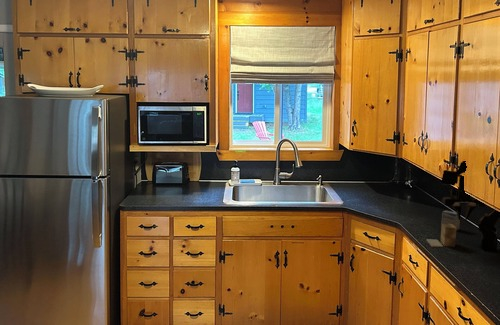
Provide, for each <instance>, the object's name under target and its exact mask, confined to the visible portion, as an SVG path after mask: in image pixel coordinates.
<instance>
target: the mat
mask: <svg viewBox="0 0 500 325" xmlns="http://www.w3.org/2000/svg"><path fill="white" fill-rule="evenodd" d="M426 243H428V244H429V245H430V246H431V248H444V246H443V245H442V243H441V242H440V241H439V240H438V239H430V238H429V239H428V238H426Z"/></svg>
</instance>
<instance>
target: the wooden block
mask: <svg viewBox="0 0 500 325" xmlns="http://www.w3.org/2000/svg"><path fill="white" fill-rule="evenodd" d="M456 238H457V230H456V227H455V226H454V225H453V224H442V227H441V226H440V241H439V242H440V243H441V244H443V245H444V246H443V247H456Z"/></svg>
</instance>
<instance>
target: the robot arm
mask: <svg viewBox="0 0 500 325" xmlns="http://www.w3.org/2000/svg"><path fill="white" fill-rule="evenodd" d="M465 162H466V161H463V160H462V161H461V162H460V164H459V168H457V169H456V170H447V169H444V170H443V172H442V177H441V185H445V186H452V187H453V186H454V187H455V186H456V185H457V184H458V187H457V189H456V188H455V189H454V188H451V189H450V192H449V195H450V196H443V197H442V198H441V204H443V205H444V206H452V207H454V209H455V211H456V213H457V216H458V219H459V220H460V221H461V218H462V217H461V215H462V214H461V213H462V212H461V211H462V206H461V204H465V206H466V209H465V218H464V219H465V221H468V218H469V217H470V215H471V214H472V212H473V211H474V209H477V208H478V207H477V205H478V206H479V207H487V205H485V204H484V203H482V202H480V201H478V200H477V199H475V198H476V197H474V198H473V199H472V195H471V196H470V195H468V194H466V193H465V191H464V176H462V175H463V174H465V171H466V168H467V166H466V163H465ZM499 219H500V212H498V211H496V210H495V209H494V210H492V212H490V213H488V212H485V214H484V215H483V216H482V217H480V219H479V221H478V223H479V224H478V225H477V226H478V231H479V232H481V236H480V237H479V238H480V239H479V245H478V247H479V248H480V249H482V250H483V251H493V252H494V251H495V252H499V249H498V240H499V238H498V237H499V236H498V231H499V230H498V229H497V228H496V223H497V222H498V221H499Z"/></svg>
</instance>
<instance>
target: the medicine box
mask: <svg viewBox="0 0 500 325" xmlns="http://www.w3.org/2000/svg"><path fill="white" fill-rule="evenodd" d="M460 222H461V219H460V220H459V219H458V216H457V212H454V211H450V210H443V211H442V213H441V223H440V224H441V225H440V228H441V227H442V224H453V225H454V226H455V227H456V231H458V230H460V225H461V223H460Z"/></svg>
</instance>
